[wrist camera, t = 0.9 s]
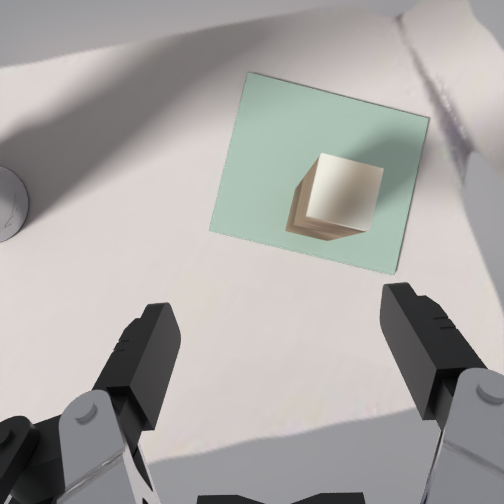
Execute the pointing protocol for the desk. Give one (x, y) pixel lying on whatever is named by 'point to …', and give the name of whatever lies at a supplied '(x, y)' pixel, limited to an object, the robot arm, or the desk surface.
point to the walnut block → (335, 199)
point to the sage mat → (301, 160)
